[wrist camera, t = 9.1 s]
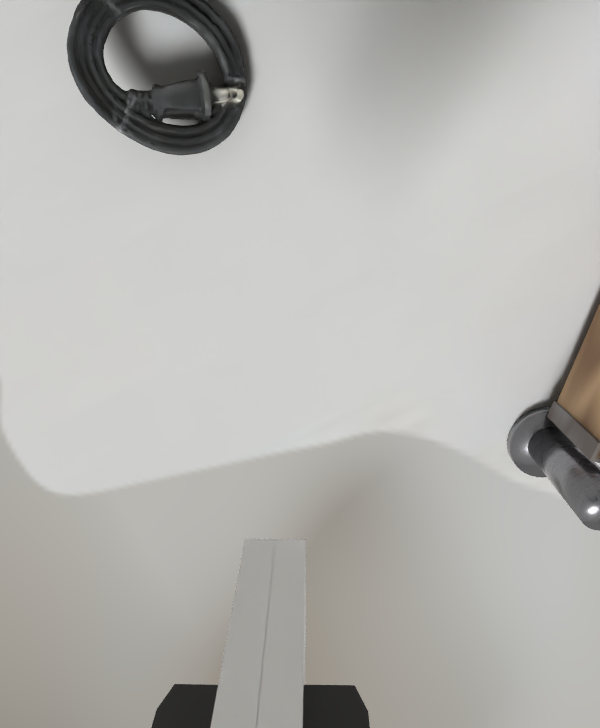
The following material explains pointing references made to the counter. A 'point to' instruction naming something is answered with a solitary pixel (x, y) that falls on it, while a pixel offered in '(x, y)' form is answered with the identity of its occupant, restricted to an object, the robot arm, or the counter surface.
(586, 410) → the gate
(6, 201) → the counter surface
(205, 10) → the corded kitchen appliance
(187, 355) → the counter surface
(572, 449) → the hinge post
